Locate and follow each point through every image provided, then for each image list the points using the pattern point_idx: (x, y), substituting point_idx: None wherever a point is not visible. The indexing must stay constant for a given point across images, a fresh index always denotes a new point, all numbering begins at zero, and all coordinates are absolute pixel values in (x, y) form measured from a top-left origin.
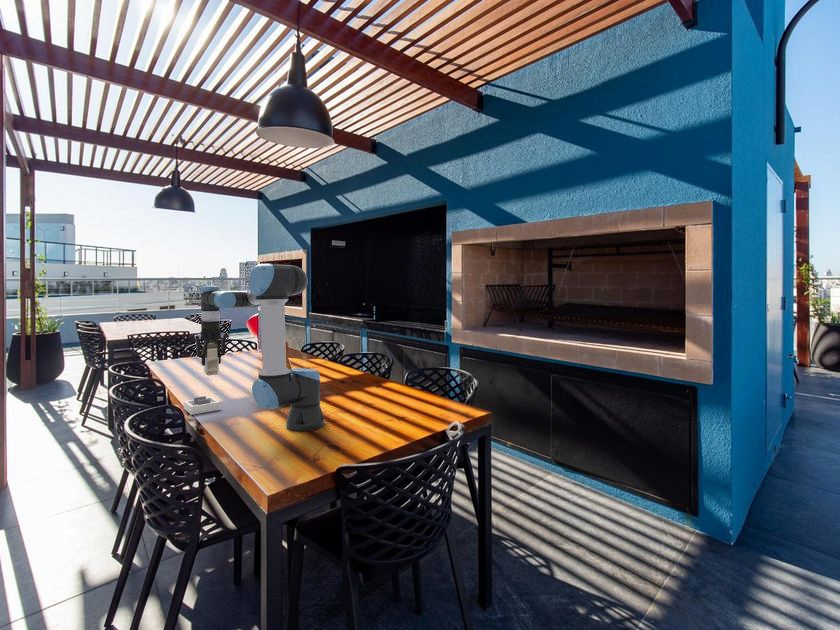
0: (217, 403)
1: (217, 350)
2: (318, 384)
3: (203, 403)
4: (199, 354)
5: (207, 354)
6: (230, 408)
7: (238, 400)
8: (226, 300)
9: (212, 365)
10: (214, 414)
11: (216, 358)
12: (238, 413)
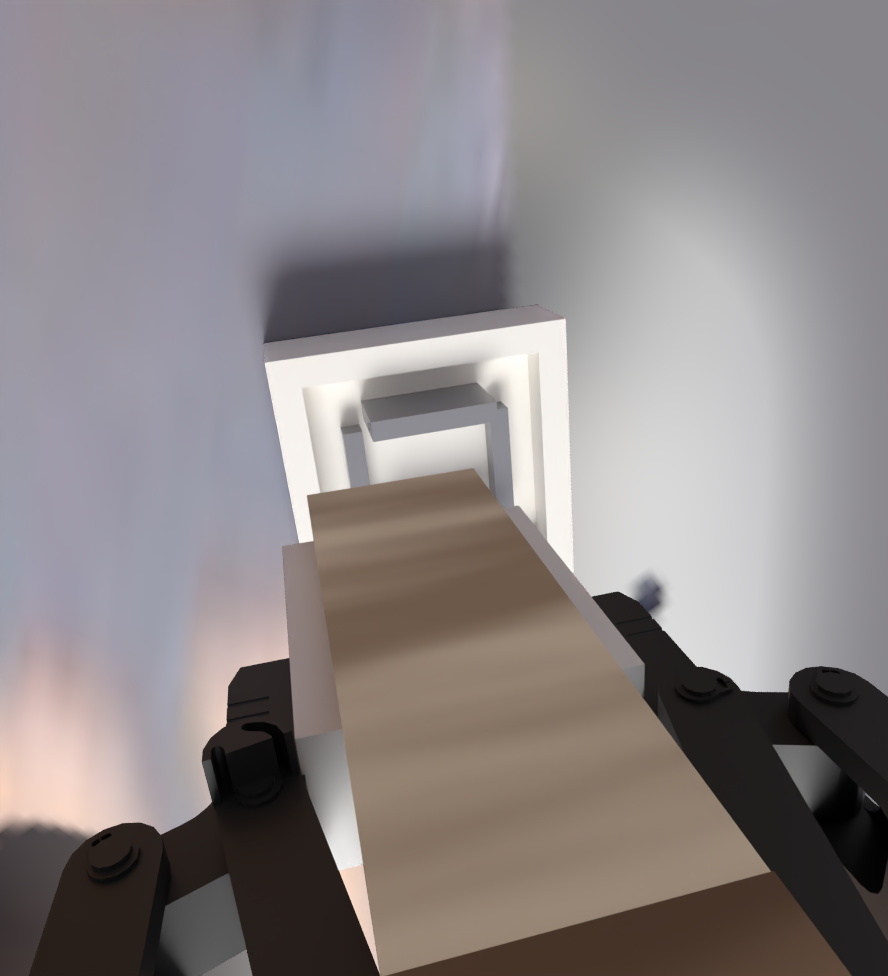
0: (294, 355)
1: (342, 932)
2: None
3: (433, 398)
4: (873, 721)
5: (654, 735)
6: (154, 333)
7: (41, 612)
8: None
9: (432, 562)
10: (343, 181)
11: (359, 674)
12: (83, 47)
